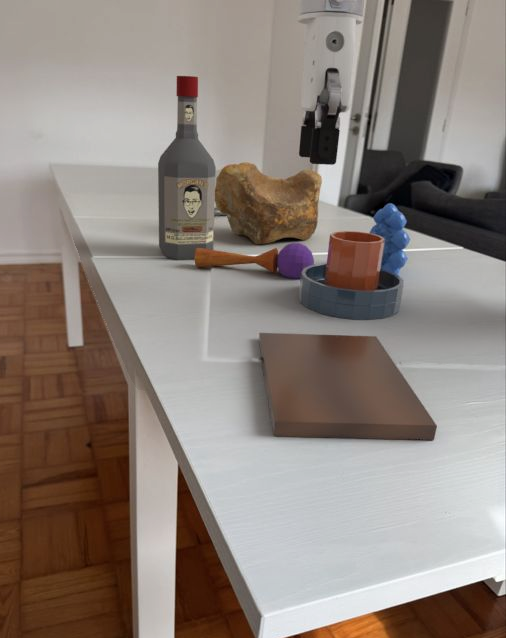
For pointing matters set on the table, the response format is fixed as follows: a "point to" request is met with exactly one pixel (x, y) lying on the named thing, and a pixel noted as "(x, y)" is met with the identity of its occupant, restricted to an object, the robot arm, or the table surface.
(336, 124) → the robot arm
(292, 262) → the kendama
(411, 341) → the table surface
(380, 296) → the bowl
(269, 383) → the board
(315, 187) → the rough brown rock
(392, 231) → the grapes
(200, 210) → the liquor
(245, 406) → the table surface
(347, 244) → the cup
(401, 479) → the table surface
